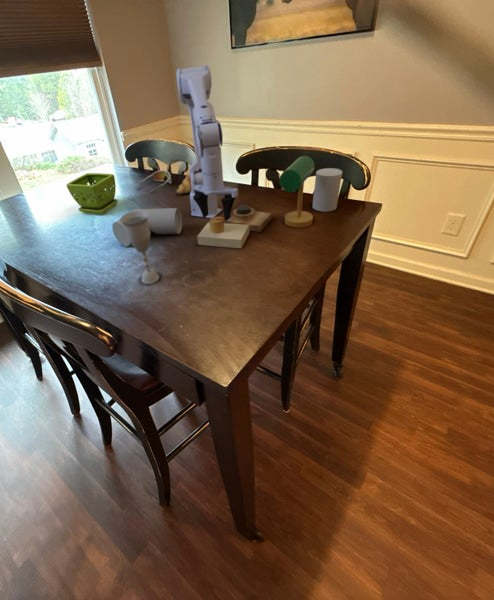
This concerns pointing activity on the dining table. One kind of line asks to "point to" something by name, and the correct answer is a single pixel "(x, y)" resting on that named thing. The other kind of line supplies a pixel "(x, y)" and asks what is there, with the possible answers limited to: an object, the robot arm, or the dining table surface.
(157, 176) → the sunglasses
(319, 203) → the light grey upright cylinder
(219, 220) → the dimmer knob
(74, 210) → the dining table surface
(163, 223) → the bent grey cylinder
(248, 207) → the button
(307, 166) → the bracelet display stand
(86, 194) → the flower pot
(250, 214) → the switch box
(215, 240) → the dimmer panel
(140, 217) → the chalice
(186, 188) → the croissant
